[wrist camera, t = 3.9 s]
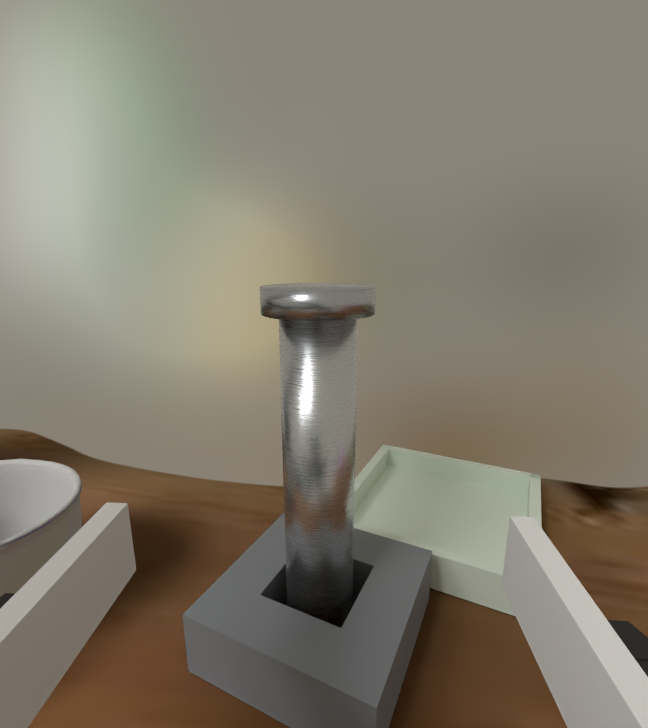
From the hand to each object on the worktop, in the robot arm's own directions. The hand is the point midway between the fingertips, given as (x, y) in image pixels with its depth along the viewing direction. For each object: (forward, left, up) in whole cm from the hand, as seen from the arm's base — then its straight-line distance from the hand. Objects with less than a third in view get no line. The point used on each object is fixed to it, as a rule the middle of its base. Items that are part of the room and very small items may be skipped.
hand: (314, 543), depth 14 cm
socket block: (-3, +6, -11) cm, 13 cm away
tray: (+1, +19, -11) cm, 22 cm away
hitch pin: (-3, +6, -11) cm, 13 cm away
